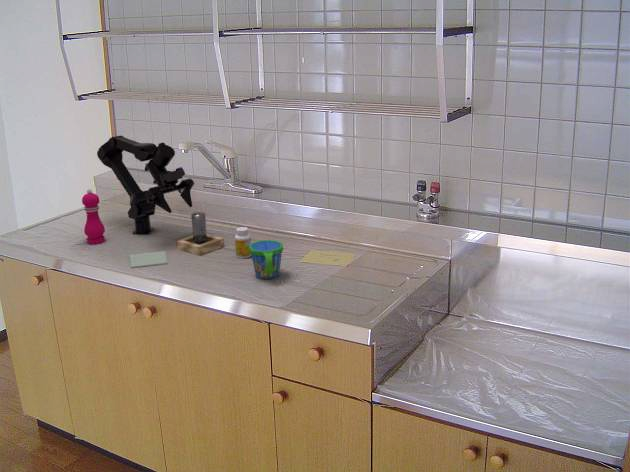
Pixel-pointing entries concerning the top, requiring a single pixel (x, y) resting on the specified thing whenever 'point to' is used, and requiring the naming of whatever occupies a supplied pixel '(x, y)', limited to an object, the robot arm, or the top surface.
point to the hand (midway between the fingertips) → (181, 209)
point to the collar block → (193, 248)
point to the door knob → (199, 228)
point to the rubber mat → (148, 259)
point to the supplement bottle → (242, 242)
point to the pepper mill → (93, 219)
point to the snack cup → (266, 258)
